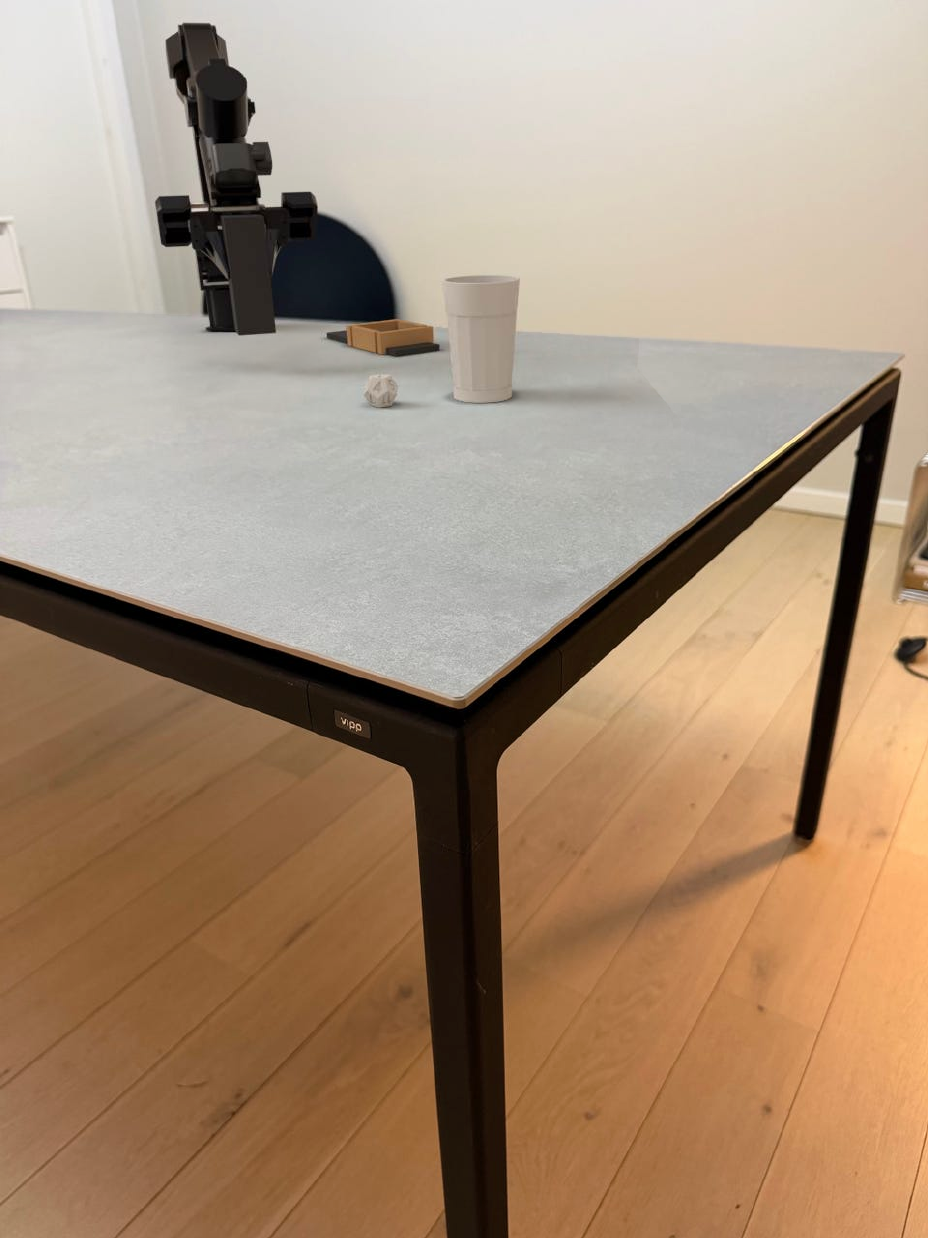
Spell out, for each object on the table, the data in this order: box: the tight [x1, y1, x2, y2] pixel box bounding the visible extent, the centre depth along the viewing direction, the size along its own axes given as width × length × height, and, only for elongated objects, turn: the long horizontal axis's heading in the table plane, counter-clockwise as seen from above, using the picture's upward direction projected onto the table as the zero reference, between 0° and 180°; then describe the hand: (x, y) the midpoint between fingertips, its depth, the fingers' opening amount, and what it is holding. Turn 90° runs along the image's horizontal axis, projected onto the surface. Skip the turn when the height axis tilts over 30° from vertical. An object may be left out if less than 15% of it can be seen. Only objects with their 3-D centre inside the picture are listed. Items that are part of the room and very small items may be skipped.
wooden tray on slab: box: [326, 318, 440, 357], centre depth 131 cm, size 20×8×3 cm, turn 35°
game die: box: [363, 373, 399, 408], centre depth 96 cm, size 4×4×3 cm
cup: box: [441, 274, 521, 404], centre depth 97 cm, size 8×8×12 cm
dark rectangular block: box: [221, 214, 277, 336], centre depth 110 cm, size 4×4×13 cm
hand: (249, 275), depth 108 cm, fingers closed on dark rectangular block, 4 cm apart
